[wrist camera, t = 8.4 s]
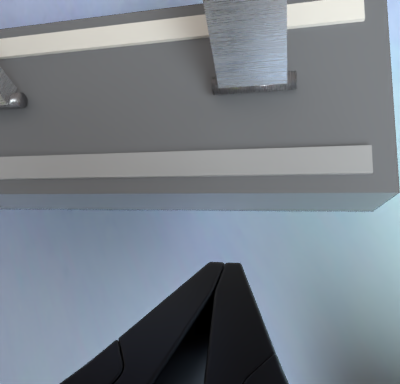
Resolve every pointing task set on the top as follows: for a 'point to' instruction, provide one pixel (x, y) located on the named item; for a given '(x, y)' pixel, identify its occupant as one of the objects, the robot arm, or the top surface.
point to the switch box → (198, 116)
